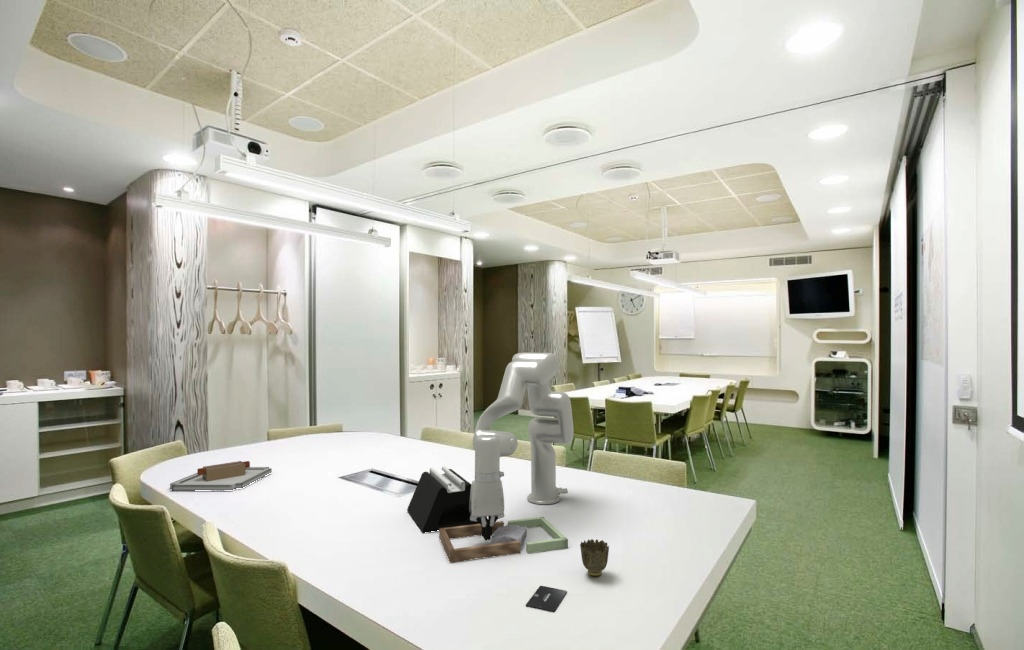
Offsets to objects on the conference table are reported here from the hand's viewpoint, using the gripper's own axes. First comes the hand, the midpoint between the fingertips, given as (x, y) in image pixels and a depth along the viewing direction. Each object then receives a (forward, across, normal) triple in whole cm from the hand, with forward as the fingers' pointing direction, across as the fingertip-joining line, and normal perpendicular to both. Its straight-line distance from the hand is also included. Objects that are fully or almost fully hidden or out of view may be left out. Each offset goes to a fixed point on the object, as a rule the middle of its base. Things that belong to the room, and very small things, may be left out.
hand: (486, 538), depth 147 cm
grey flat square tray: (+2, +95, -101) cm, 139 cm away
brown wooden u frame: (+2, +2, 0) cm, 3 cm away
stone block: (+2, -7, 0) cm, 7 cm away
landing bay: (+2, -16, 0) cm, 16 cm away
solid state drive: (+3, -6, +35) cm, 35 cm away
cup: (+2, -22, +28) cm, 35 cm away
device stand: (+2, +8, -27) cm, 28 cm away
